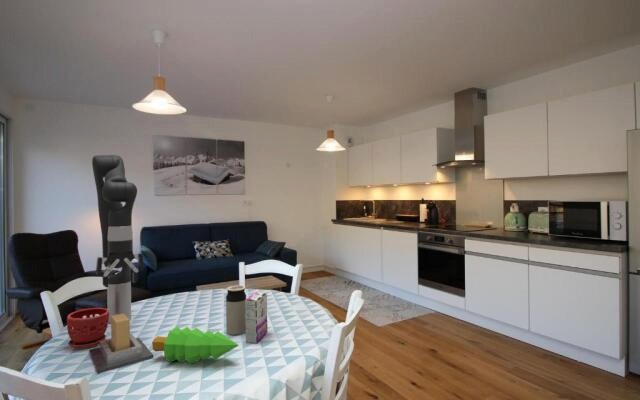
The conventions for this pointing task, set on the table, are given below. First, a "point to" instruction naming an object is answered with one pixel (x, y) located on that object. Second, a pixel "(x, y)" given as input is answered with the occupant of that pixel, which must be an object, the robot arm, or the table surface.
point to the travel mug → (235, 310)
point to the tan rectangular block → (120, 332)
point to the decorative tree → (192, 345)
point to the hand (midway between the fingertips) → (120, 284)
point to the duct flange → (118, 355)
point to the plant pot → (87, 327)
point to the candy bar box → (256, 317)
